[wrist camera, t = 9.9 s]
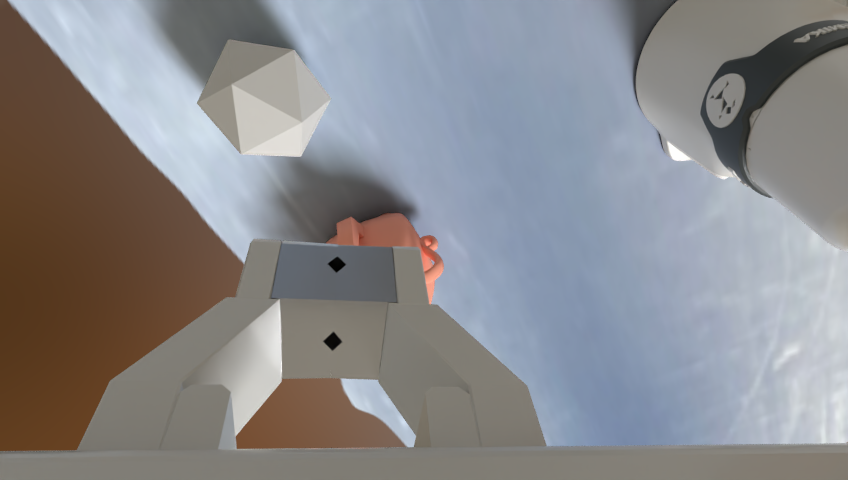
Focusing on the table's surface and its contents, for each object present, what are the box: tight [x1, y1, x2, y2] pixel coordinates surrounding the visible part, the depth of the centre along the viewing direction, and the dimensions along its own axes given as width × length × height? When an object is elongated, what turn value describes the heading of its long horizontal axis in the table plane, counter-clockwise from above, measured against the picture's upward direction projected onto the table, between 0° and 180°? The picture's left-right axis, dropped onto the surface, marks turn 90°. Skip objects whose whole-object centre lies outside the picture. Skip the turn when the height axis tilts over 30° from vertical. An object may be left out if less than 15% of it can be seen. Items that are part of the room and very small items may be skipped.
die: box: [197, 39, 331, 157], centre depth 42 cm, size 8×9×10 cm
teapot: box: [326, 213, 444, 304], centre depth 52 cm, size 12×12×10 cm
